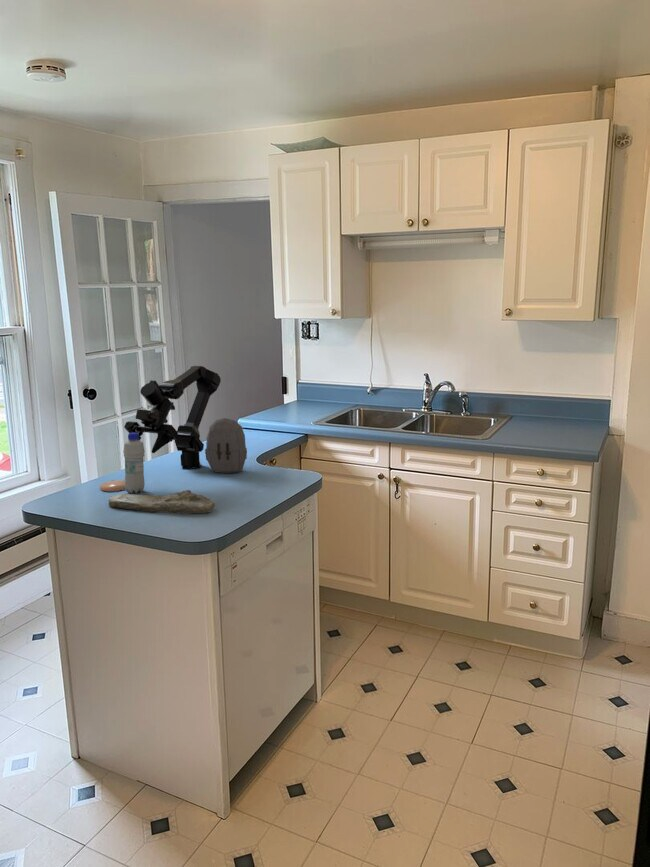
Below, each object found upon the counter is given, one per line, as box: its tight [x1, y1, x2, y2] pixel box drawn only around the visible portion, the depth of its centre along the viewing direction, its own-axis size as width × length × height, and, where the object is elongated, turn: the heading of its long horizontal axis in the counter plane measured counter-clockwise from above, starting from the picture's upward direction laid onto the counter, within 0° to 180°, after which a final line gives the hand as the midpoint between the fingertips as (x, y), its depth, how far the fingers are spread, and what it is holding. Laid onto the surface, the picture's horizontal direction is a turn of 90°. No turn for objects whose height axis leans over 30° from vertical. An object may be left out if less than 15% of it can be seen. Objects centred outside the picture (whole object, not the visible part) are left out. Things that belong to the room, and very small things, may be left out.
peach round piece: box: [99, 479, 126, 492], centre depth 228 cm, size 10×10×1 cm
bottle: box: [123, 432, 145, 494], centre depth 221 cm, size 7×7×20 cm
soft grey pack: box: [204, 417, 248, 474], centre depth 242 cm, size 15×8×20 cm, turn 84°
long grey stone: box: [107, 489, 216, 515], centre depth 207 cm, size 35×5×10 cm
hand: (141, 451), depth 225 cm, fingers open, 9 cm apart
